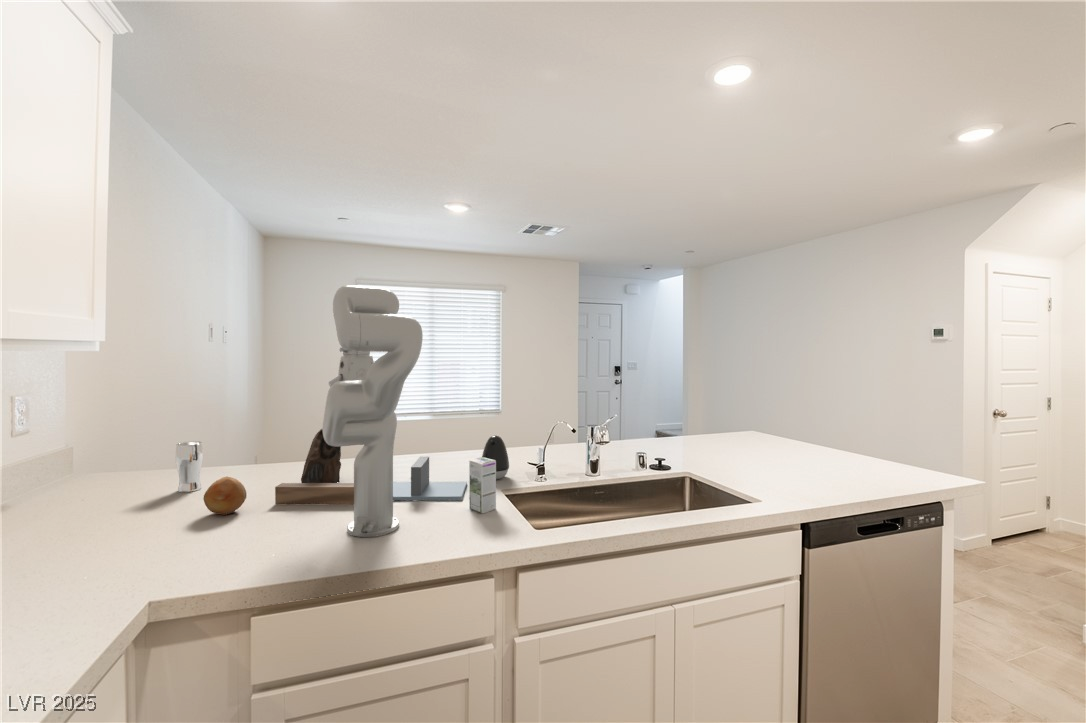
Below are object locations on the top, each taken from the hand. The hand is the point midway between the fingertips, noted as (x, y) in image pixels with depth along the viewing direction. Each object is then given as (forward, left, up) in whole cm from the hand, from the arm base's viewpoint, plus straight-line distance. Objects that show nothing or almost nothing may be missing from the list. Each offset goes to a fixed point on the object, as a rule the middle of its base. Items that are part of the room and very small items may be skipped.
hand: (356, 407), depth 146 cm
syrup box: (-9, -39, -28) cm, 49 cm away
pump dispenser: (+24, -41, -28) cm, 55 cm away
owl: (+17, +17, -28) cm, 37 cm away
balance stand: (+7, -18, -28) cm, 34 cm away
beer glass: (+11, +56, -28) cm, 64 cm away
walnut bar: (-2, +10, -29) cm, 30 cm away
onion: (-11, +32, -28) cm, 44 cm away
